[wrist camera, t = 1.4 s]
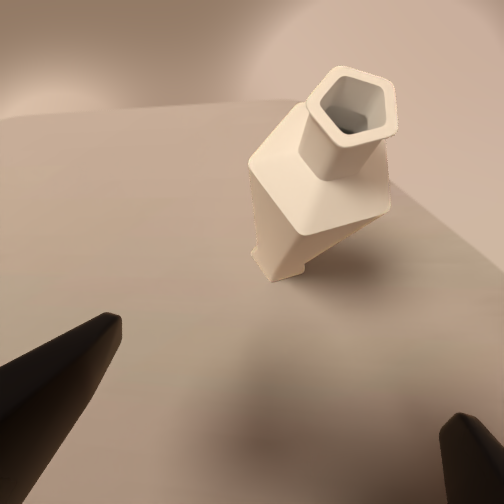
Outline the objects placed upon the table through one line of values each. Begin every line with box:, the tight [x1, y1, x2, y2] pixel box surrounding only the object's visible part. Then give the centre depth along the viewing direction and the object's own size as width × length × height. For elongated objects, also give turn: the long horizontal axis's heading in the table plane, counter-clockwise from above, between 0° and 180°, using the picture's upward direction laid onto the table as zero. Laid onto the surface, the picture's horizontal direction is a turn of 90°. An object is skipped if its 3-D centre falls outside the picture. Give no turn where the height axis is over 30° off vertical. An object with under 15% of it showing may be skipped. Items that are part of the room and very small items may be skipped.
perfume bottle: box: [248, 66, 398, 282], centre depth 14 cm, size 5×4×15 cm
